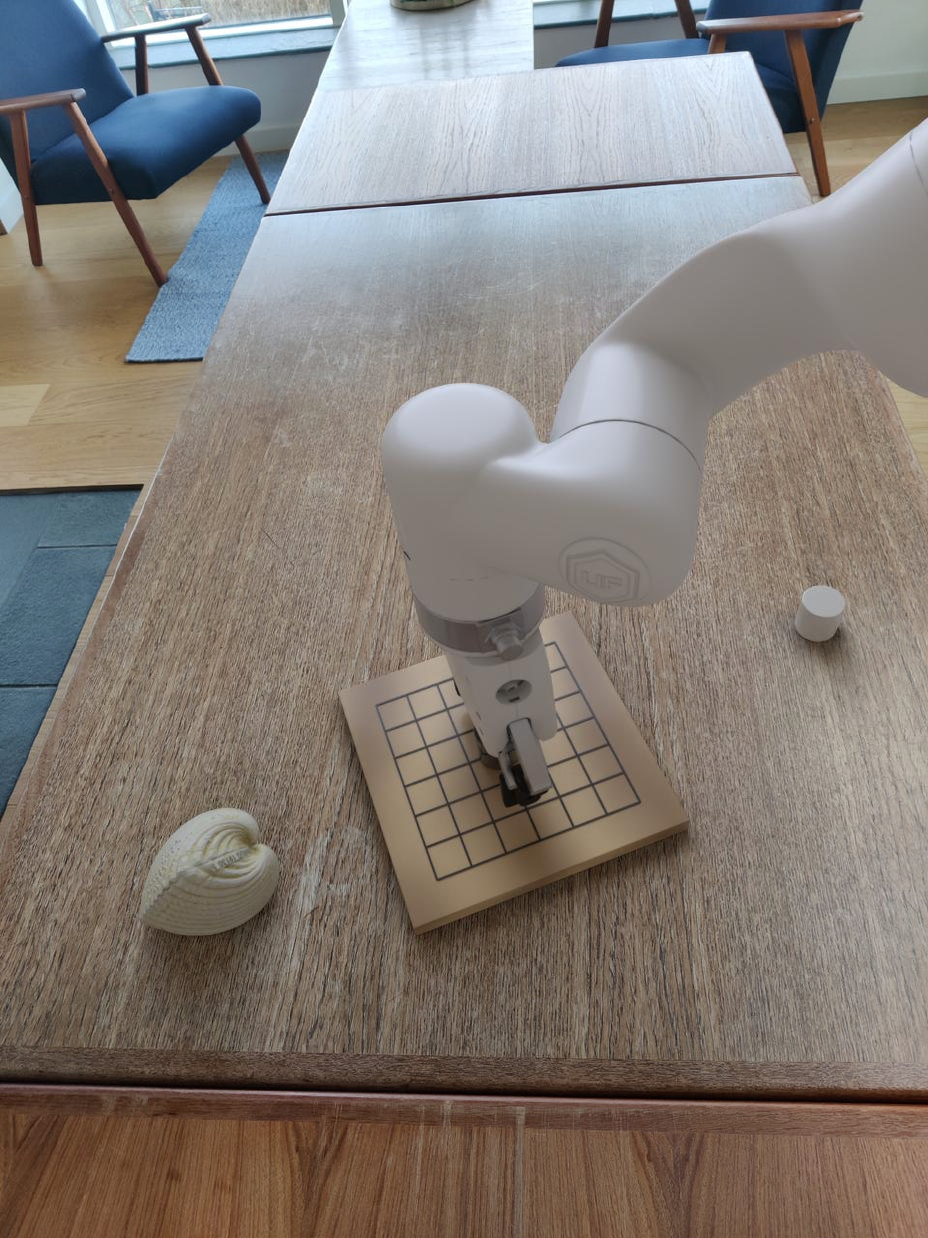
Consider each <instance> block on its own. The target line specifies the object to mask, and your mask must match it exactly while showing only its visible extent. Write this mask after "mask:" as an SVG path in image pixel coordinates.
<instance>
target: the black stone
mask: <svg viewBox="0 0 928 1238" xmlns="http://www.w3.org/2000/svg"><path fill="white" fill-rule="evenodd" d="M474 735H475V741H476V746H477V752H478V756H479V759H480V761H481V762H482V763H483V764H484V765H485V766H487V767H488V768H491V769H494V770H502V769H501V766H500V763H499V760H498V757H494V756H492V755H490V754H488V752H487V751H486V749H485V747H484V745H483V743H482V740H481V738H480V736H479V734H478V732H477V730H476V728H475V725H474ZM507 735H508V737H509V736H510V734H509V732H508V729H507ZM507 754H508V757H509V761H510V764H511V766H513V765H514V764H515V763H516V762H517V761H518V756H517V753H516V751H515V750H514V751H511V752H509V753H507Z"/></svg>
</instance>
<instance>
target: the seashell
mask: <svg viewBox="0 0 928 1238" xmlns="http://www.w3.org/2000/svg"><path fill="white" fill-rule="evenodd" d="M259 834H260V827H259V823H258V822H257V820H256V819H255V817H254V816H252V815H251V814H250V813H249V812H247V811H245V810H242V809H240V808H235V807H221V808H220V807H219V808H215V809H211V810H208V811H205V812H202V813H200V814H198V815H196V816H194V817H193V818H191V819H189V820H188V821H185V822H184V823H183V824H182V825H181V826H180V827H178V828H177V829H176V830H175V831H174V832H173V834H171V836H169V838H167V840H166V841H165V843H164V844H163V846H162V847H161V849H159V851H158V853H157V855H156V856H155V858H154V860H153V862H152V864H151V865H150V868H149V870H148V874H147V876H146V879H145V882H144V885H143V890H142V893H141V898H140V907H139V908H140V909H139V912H138V913H139V914H138V920H139V922H140V924H143V925H145V926H148V927H151V928H154V929H156V930H162V931H165V932H168V933H171V934H175V935H181V936H198V937H199V936H201V937H202V936H213V935H218V934H221V933H223V932H227V931H230V930H232V929H235V928H238V927H239V926H241V925H243V924H245V923H246V922H248V921H250V920H251V919H252V918H254V917H255V916H256V915H258V914H259V913H260V912H261V911H262V910H263V908H264V907H265V906H266V905H267V904H268V902H269V901H270V900H271V898H272V896H273V895H274V893H275V890H276V889H277V886H278V882H279V879H280V878H279V877H280V862H279V858H278V856H277V854H276V853H275V851H274V850H273V849H272V848H271V846H269V845H267V844H265V843H256V841H257V839H258V837H259Z"/></svg>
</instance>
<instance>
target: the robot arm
mask: <svg viewBox="0 0 928 1238" xmlns="http://www.w3.org/2000/svg"><path fill="white" fill-rule="evenodd" d="M833 351H855V352H858V353H859V354H860V355H861V356H862V357H863V358H864V359H865V360H866V361H867V362H868V363H869V364H870V365H871V366H873V368H874V369H876V370H877V371H878V372H880V373H881V374H882V375H883V376H885V377H886V378H887V379H888V380H889V381H891V382H892V383H894V384H895V385H897V386H898V387H899V388H901V389H903V390H905V391H908V392H910V393H912V394H914V395H916V396H919V397H922V398H923V399H924V398H925V399H928V117H926V118H925V119H924V120H923V121H921V122H920V123H919V124H918V125H917V126H915V127H913V128H912V129H911V130H910V131H908V132H907V133H905V135H904V136H902V137H901V138H900V139H899V140H898V141H896V143H894V144H893V145H892V146H891V147H889V148H888V149H887V150H886V151H885V152H884V153H882V154H881V155H880V156H879V157H877V158H876V159H875V160H874V161H873V162H872V163H870V164H869V165H868V166H866V167H865V168H864V169H863V170H861V171H860V172H858V174H856V175H855V176H854V177H852V178H851V179H850V180H848V181H846V183H844V185H842V186H841V187H840V188H838V189H836V190H835V191H834V192H833V193H831V194H830V195H828V196H827V197H825V198H824V199H821V200H820V201H818V202H816V203H813V204H811V205H807V206H805V207H800V208H797V209H793V210H789V211H786V212H783V213H780V214H777V215H775V216H773V217H769V218H768V219H765V220H763V221H761V222H758V223H756V224H754V225H751V226H749V227H746V228H744V229H742V230H739V231H736V232H734V233H731V234H728V235H727V236H724V237H722V238H719V239H718V240H715V241H713V242H712V243H710V244H708V245H706V246H704V247H703V248H701V249H699V250H697V251H696V252H694V253H693V254H692V255H690V256H688V257H687V258H686V259H685V260H683V261H682V262H680V263H679V264H678V265H676V266H675V267H674V268H673V269H671V270H670V271H669V272H668V273H667V274H666V275H664V276H662V278H660V279H659V280H658V281H657V282H656V283H654V284H653V285H652V286H651V287H650V288H649V289H648V290H647V291H646V292H645V293H644V294H643V295H641V296H640V297H639V298H638V299H637V300H636V301H635V302H633V303H632V304H631V305H630V306H629V307H628V308H627V309H626V310H625V311H624V312H622V313H621V314H620V315H619V316H618V317H617V318H616V319H614V321H612V322H611V323H610V324H609V325H608V326H607V327H606V328H605V329H604V330H603V331H602V332H601V333H600V334H599V335H598V336H597V337H595V339H594V340H593V341H592V342H591V344H590V345H588V347H587V348H586V349H585V351H584V352H583V353H582V354H581V356H580V357H579V358H578V360H577V362H576V363H575V365H574V366H573V368H572V370H571V372H570V374H569V375H568V377H567V379H566V381H565V384H564V386H563V390H562V393H561V396H560V399H559V401H558V402H559V403H558V406H557V409H556V413H555V416H554V420H553V424H552V428H551V432H550V436H549V439H548V443H545V442H542V441H540V440H539V437H538V434H537V430H536V427H535V424H534V421H533V420H532V417H531V416H530V414H529V412H528V411H527V409H526V408H525V407H524V406H523V404H522V403H520V401H518V400H517V399H516V398H515V397H514V396H512V395H511V394H509V393H507V392H506V391H504V390H502V389H499V388H497V387H495V386H490V385H487V384H483V383H482V384H481V383H474V382H457V383H448V384H447V383H446V384H443V385H439V386H438V385H437V386H434V387H431V388H428V389H426V390H424V391H422V392H420V393H417V394H416V395H414V396H413V397H411V398H409V399H408V400H407V401H406V402H403V404H402V405H400V407H398V409H396V411H395V412H394V413H393V415H392V416H391V417H390V419H389V421H388V422H387V424H386V426H385V429H384V431H383V434H382V436H381V437H382V438H381V444H380V461H381V467H382V473H383V477H384V482H385V485H386V490H387V494H388V499H389V503H390V507H391V511H392V515H393V519H394V523H395V528H396V532H397V536H398V541H399V544H400V549H401V552H402V558H403V562H404V566H405V570H406V574H407V578H408V582H409V586H410V591H411V595H412V599H413V604H414V608H415V612H416V616H417V620H418V624H419V626H420V628H421V631H422V632H423V634H424V635H425V637H427V639H428V640H429V641H430V642H431V643H433V644H434V645H435V646H436V647H437V648H439V649H441V650H442V651H443V655H444V654H445V657H446V660H447V663H448V665H449V668H450V671H451V673H452V676H453V680H454V685H455V690H456V692H457V694H458V696H460V697H462V699H463V702H464V704H465V706H466V708H467V711H468V713H469V715H470V717H471V719H472V721H473V723H474V725H475V728H476V730H477V732H478V734H479V736H480V738H481V740H482V743H483V745H484V747H485V749H486V751H487V752H488V754H490V755H492V756H494V757H498V760H499V763H500V766H501V769H502V773H501V774H500V775H499V781H500V787H501V794H502V800H503V803H504V805H505V807H506V808H509V807H512V806H515V805H517V804H519V805H520V806H527V805H530V804H533V803H535V802H537V801H538V800H539V799H540V798H541V795H544V794H546V793H547V792H548V791H549V789H551V788H552V783H551V779H550V776H549V771H548V767H547V763H546V761H545V757H544V754H543V751H542V748H541V744H540V741H539V739H540V740H541V741H543V742H544V741H547V740H549V739H551V738H553V737H555V735H556V732H557V716H556V708H555V700H554V692H553V685H552V679H551V673H550V668H549V663H548V658H547V654H546V650H545V646H544V643H543V639H542V636H541V632H540V629H539V626H540V624H541V622H542V620H544V617H545V613H546V609H547V598H546V597H547V596H546V595H547V594H546V587H549V588H551V589H552V590H553V589H554V590H556V591H560V592H561V593H565V594H567V595H570V596H573V597H576V598H578V599H582V600H585V601H589V602H593V603H596V604H600V605H604V606H605V605H606V606H611V607H619V608H641V607H647V606H651V605H654V604H657V603H660V602H662V601H664V600H666V599H667V598H669V597H670V596H671V595H673V594H675V592H677V590H678V589H680V587H681V586H682V585H683V583H684V582H685V580H686V579H687V577H688V575H689V573H690V570H691V568H692V566H693V565H692V564H693V561H694V557H695V552H696V546H697V538H698V530H699V529H698V528H699V518H700V510H701V509H700V508H701V502H702V501H701V498H702V490H703V489H702V488H703V487H702V486H703V478H704V466H705V459H706V449H707V442H708V441H707V439H708V434H709V433H708V432H709V425H710V421H711V420H712V419H713V418H714V417H716V416H717V415H718V414H719V413H720V412H722V411H723V410H724V409H725V408H727V407H728V406H730V405H731V404H732V403H734V402H735V401H736V400H738V399H740V398H741V397H742V396H744V395H745V394H747V393H748V392H749V391H751V390H752V389H754V388H755V387H756V386H758V385H759V384H760V383H763V381H765V380H767V379H768V378H770V377H771V376H773V375H774V374H776V373H778V372H780V371H781V370H783V369H785V368H787V367H788V366H791V365H793V364H795V363H797V362H799V361H801V360H804V359H807V358H809V357H813V356H815V355H818V354H819V355H820V354H823V353H829V352H833ZM507 729H508V732H509V734H510V736H509V737H508V735H507ZM514 750H515V751H516V753H517V756H518V759H519V761H520V764H517V765H514V766H512V767H511V764H510V761H509V757H508V754H507V753H509V752H511V751H514Z"/></svg>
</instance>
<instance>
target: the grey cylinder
mask: <svg viewBox="0 0 928 1238" xmlns="http://www.w3.org/2000/svg"><path fill="white" fill-rule="evenodd" d="M846 606H847V603H846V599H845V597H844V595H843V594H842V593H841V592H840V591H838V590H837V589H835V588H834V587H831V586H828V585H813V586H811V587H809V588H807V589H806V590H805V591H804V592H803V593H802V596H801V599H800V603H799V604H798V607H797V608H798V609H797V611H796V615H795V618H794V621H793V623H794V628H795V631H796V632H797V633H798V634H799V635H800V636H801V637H802V638H804V639H805V640H808V641H811V642H816V643H820V642H826V641H828V640H830V639H832V638H833V637H834V636H835V635H836V633H837V630H838V627H839V625H840V622H841V620H842V618H843V615H844V612H845V610H846Z"/></svg>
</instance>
